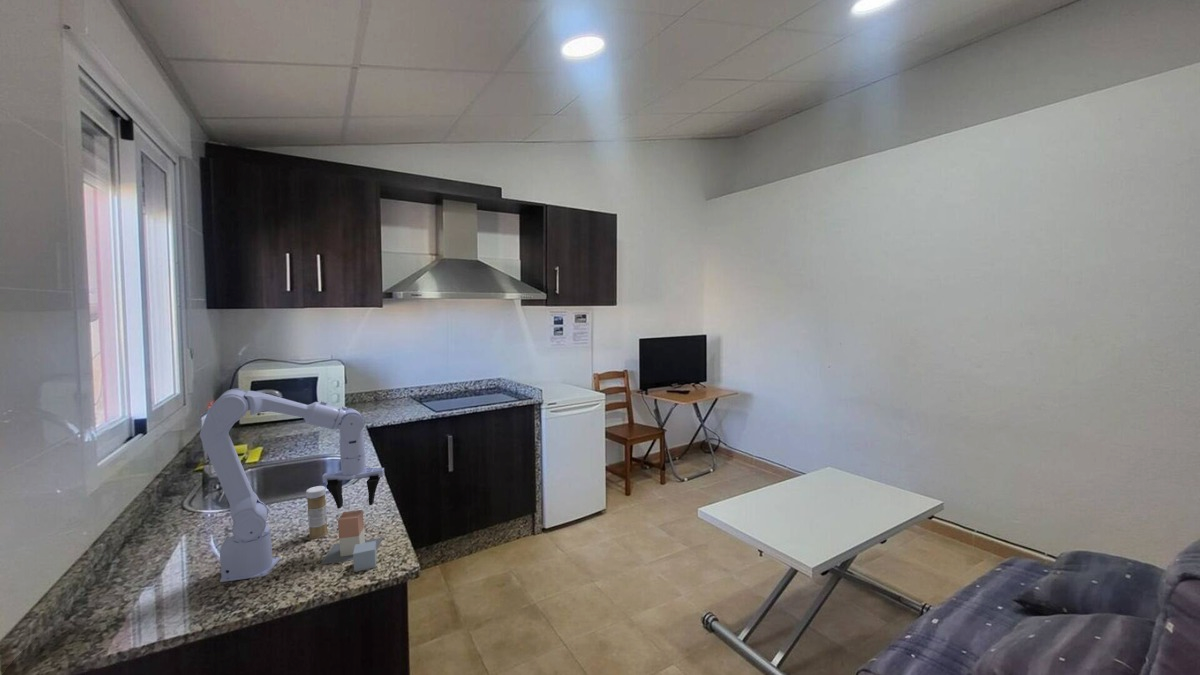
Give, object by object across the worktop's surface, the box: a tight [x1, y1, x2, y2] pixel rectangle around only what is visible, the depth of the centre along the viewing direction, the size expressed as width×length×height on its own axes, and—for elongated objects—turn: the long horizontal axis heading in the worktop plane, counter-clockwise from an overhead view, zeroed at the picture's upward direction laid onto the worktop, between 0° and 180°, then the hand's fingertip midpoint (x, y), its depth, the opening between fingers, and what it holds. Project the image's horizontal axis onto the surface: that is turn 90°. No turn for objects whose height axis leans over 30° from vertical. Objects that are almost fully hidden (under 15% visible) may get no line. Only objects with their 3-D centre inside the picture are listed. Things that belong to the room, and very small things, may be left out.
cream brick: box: [338, 527, 366, 556], centre depth 119 cm, size 5×5×5 cm
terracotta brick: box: [337, 509, 365, 539], centre depth 119 cm, size 5×5×5 cm
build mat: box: [320, 537, 383, 566], centre depth 120 cm, size 12×10×1 cm
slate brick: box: [352, 541, 378, 572], centre depth 113 cm, size 5×5×5 cm
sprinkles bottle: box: [305, 485, 329, 539], centre depth 128 cm, size 5×5×13 cm
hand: (355, 505), depth 123 cm, fingers open, 7 cm apart
